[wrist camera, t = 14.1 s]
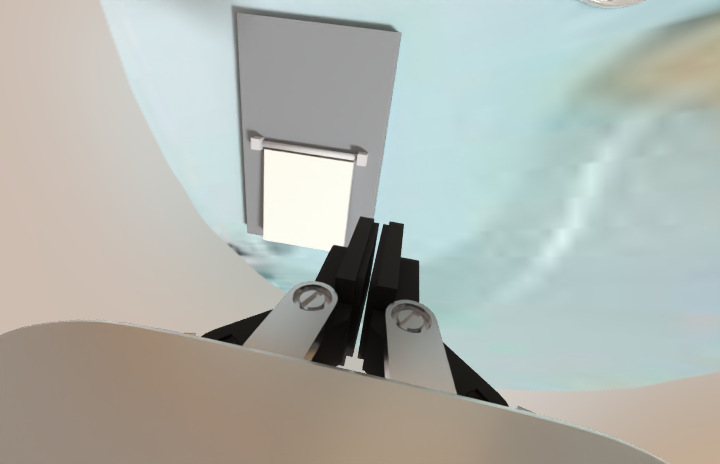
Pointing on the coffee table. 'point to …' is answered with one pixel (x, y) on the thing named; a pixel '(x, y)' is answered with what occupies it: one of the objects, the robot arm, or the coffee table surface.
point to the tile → (306, 199)
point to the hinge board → (315, 101)
